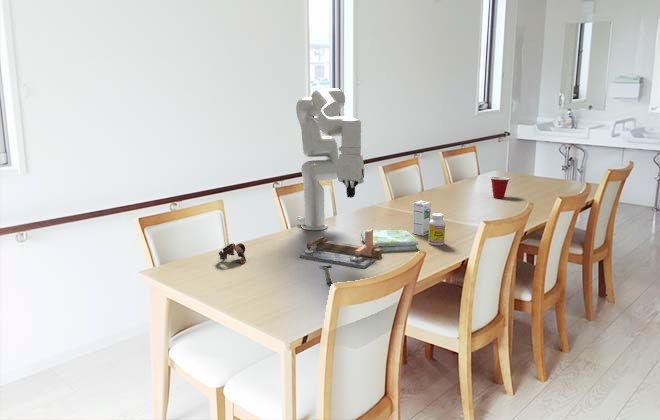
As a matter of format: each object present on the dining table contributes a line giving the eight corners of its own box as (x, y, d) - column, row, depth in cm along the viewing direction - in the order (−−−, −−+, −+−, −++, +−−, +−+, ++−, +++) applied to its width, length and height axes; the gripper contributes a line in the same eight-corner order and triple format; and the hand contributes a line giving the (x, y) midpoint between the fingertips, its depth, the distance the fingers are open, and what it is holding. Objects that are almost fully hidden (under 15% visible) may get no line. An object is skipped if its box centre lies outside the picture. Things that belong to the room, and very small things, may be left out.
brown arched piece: (240, 268, 219) (228, 250, 217) (223, 275, 224) (211, 257, 222) (255, 251, 228) (244, 234, 226) (239, 258, 233) (227, 241, 231)
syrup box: (423, 235, 258) (424, 204, 255) (412, 233, 262) (413, 202, 259) (430, 233, 262) (431, 202, 259) (419, 230, 266) (420, 200, 263)
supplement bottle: (432, 246, 243) (433, 216, 240) (425, 242, 249) (426, 213, 246) (447, 245, 245) (448, 215, 241) (440, 240, 251) (441, 212, 248)
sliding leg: (351, 260, 222) (351, 237, 220) (367, 250, 234) (367, 228, 232) (361, 262, 220) (361, 238, 218) (376, 252, 233) (376, 229, 230)
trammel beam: (304, 255, 232) (303, 243, 231) (320, 246, 244) (320, 234, 242) (367, 265, 219) (368, 253, 218) (382, 255, 231) (382, 243, 230)
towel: (419, 250, 238) (419, 238, 237) (369, 253, 235) (369, 241, 234) (407, 238, 256) (407, 227, 255) (359, 240, 253) (360, 229, 252)
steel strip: (299, 257, 229) (299, 252, 228) (309, 252, 236) (309, 246, 235) (364, 268, 216) (364, 262, 216) (372, 262, 223) (373, 256, 223)
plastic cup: (510, 197, 335) (512, 176, 332) (505, 200, 326) (506, 179, 323) (492, 195, 341) (493, 175, 338) (486, 198, 332) (487, 177, 329)
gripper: (329, 150, 226) (329, 196, 230) (364, 153, 219) (363, 200, 223) (338, 148, 232) (338, 193, 237) (372, 151, 225) (371, 197, 230)
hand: (350, 196), depth 230 cm, fingers closed
